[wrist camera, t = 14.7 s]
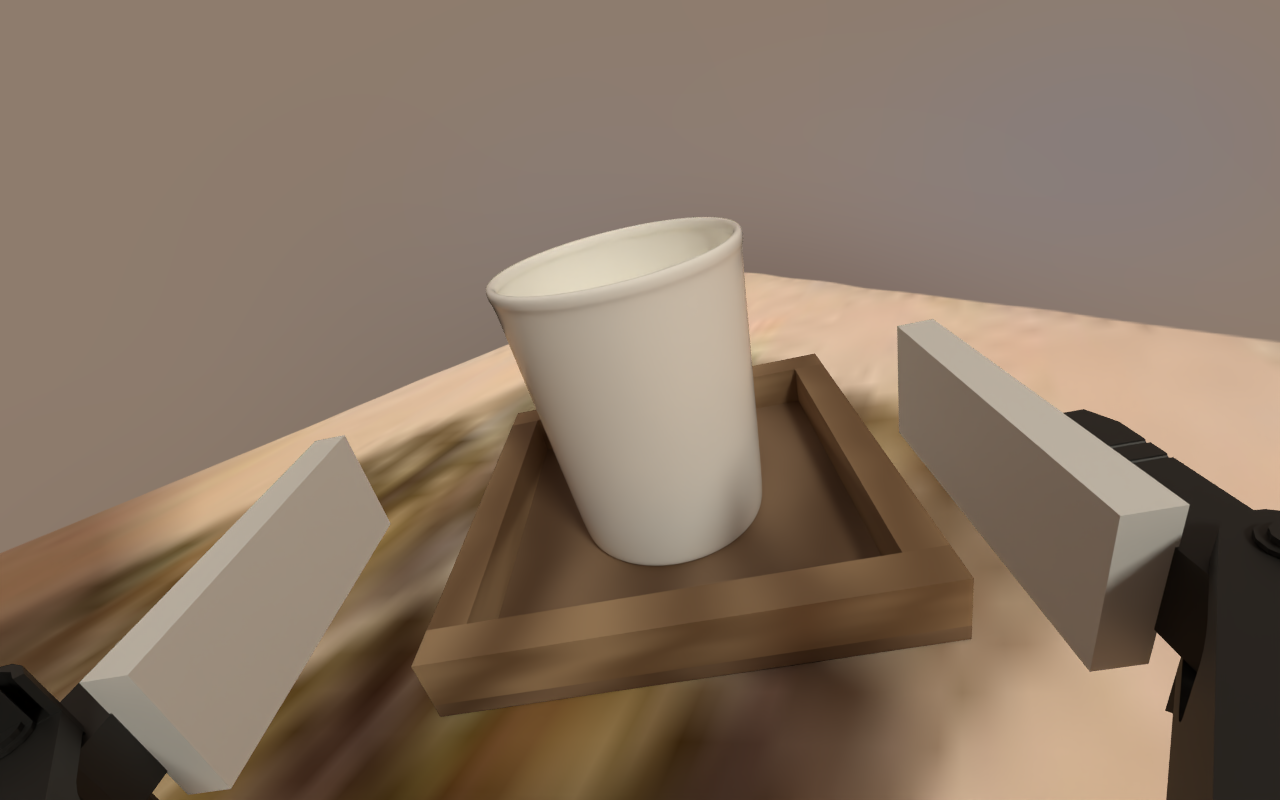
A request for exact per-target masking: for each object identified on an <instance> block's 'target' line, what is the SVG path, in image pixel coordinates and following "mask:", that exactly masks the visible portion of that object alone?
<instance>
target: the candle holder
mask: <svg viewBox="0 0 1280 800" xmlns="http://www.w3.org/2000/svg"><path fill="white" fill-rule="evenodd" d="M742 242H743V232H742V229H741V227H740V225H739V224H738V223H737V222H735V221H733V220H730V219H725V218H717V217H695V218H694V217H693V218H682V219H673V220H664V221H658V222H652V223H646V224H641V225H636V226H631V227H626V228H621V229H617V230H613V231H609V232H605V233H601V234H597V235H593V236H590V237H586V238H583V239H579V240H576V241H573V242H570V243H567V244H564V245H560V246H558V247H555V248H552V249H549V250H547V251H544V252H541V253H539V254H536V255H534V256H531V257H529V258H527V259H524V260H522V261H520V262H518V263H516V264H514V265H512V266H510V267H508V268H507V269H505V270H503V271H502V272H500V273H499V274H498V275H496V276H495V277H494V278H493V279H492V280H491V281H490V282H489V283H488V285H487V287H486V295H487V298H488V300H489V302H490V304H491V305H492V307H493V309H494V311H495V313H496V315H497V317H498V319H499V321H500V324H501V326H502V329H503V331H504V333H505V336H506V338H507V341H508V343H509V345H510V348H511V350H512V353H513V355H514V357H515V360H516V362H517V365H518V367H519V369H520V372H521V374H522V377H523V379H524V382H525V384H526V386H527V389H528V391H529V394H530V396H531V398H532V401H533V403H534V406H535V408H536V410H537V413H538V415H539V418H540V420H541V422H542V425H543V427H544V430H545V432H546V434H547V437H548V439H549V442H550V444H551V446H552V449H553V451H554V454H555V456H556V459H557V461H558V463H559V466H560V468H561V471H562V473H563V475H564V478H565V480H566V482H567V485H568V487H569V490H570V492H571V494H572V497H573V499H574V501H575V504H576V506H577V508H578V511H579V513H580V515H581V518H582V520H583V522H584V524H585V526H586V528H587V531H588V532H589V534H590V536H591V538H592V539H593V541H594V542H595V543H596V544H597V546H598V547H599V548H601V549H602V550H603V551H604V552H606V553H607V554H609V555H610V556H612V557H614V558H616V559H619V560H621V561H625V562H628V563H632V564H638V565H646V566H665V565H674V564H680V563H685V562H689V561H693V560H697V559H700V558H702V557H705V556H708V555H710V554H712V553H714V552H716V551H718V550H720V549H722V548H724V547H726V546H727V545H729V544H730V543H732V542H733V541H734V540H736V539H737V538H738V537H739V536H741V535H742V534H743V533H744V532H745V531H746V530H747V528H748V527H749V526H750V525H751V524H752V522H753V521H754V519H755V517H756V516H757V513H758V511H759V509H760V505H761V501H762V473H761V460H760V447H759V435H758V424H757V412H756V401H755V390H754V379H753V368H752V356H751V345H750V334H749V323H748V312H747V300H746V289H745V278H744V267H743V252H742Z"/></svg>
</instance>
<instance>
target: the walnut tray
mask: <svg viewBox="0 0 1280 800" xmlns="http://www.w3.org/2000/svg"><path fill="white" fill-rule="evenodd" d="M752 368H753V379H754V390H755V401H756V412H757V424H758V435H759V447H760V460H761V473H762V501H761V505H760V509H759V511H758V513H757V516H756V517H755V519H754V521H753V522H752V524H751V525H750V526H749V527H748V528H747V530H746V531H745V532H744V533H743V534H742V535H741V536H739V537H738V538H737V539H736V540H734V541H733V542H732V543H730V544H729V545H727V546H726V547H724V548H722V549H720V550H718V551H716V552H714V553H712V554H710V555H708V556H705V557H702V558H700V559H697V560H693V561H689V562H685V563H680V564H674V565H665V566H646V565H638V564H632V563H628V562H625V561H621V560H619V559H616V558H614V557H612V556H610V555H609V554H607V553H606V552H604V551H603V550H602V549H601V548H599V547H598V546H597V544H596V543H595V542H594V541H593V539H592V538H591V536H590V534H589V532H588V531H587V528H586V526H585V524H584V522H583V520H582V518H581V515H580V513H579V511H578V508H577V506H576V504H575V501H574V499H573V497H572V494H571V492H570V490H569V487H568V485H567V482H566V480H565V478H564V475H563V473H562V471H561V468H560V466H559V463H558V461H557V459H556V456H555V454H554V451H553V449H552V446H551V444H550V442H549V439H548V437H547V434H546V432H545V430H544V427H543V425H542V422H541V420H540V418H539V415H538V413H537V410H533V411H528V412H523V413H518V415H517V417H516V419H515V422H514V424H513V426H512V429H511V431H510V434H509V436H508V438H507V441H506V443H505V445H504V448H503V450H502V453H501V455H500V457H499V460H498V462H497V464H496V467H495V469H494V472H493V474H492V476H491V479H490V481H489V483H488V486H487V488H486V491H485V493H484V495H483V498H482V500H481V502H480V505H479V507H478V510H477V512H476V514H475V517H474V519H473V521H472V524H471V526H470V529H469V531H468V533H467V536H466V538H465V540H464V543H463V545H462V548H461V550H460V552H459V555H458V557H457V559H456V562H455V564H454V567H453V569H452V571H451V574H450V576H449V578H448V581H447V583H446V586H445V588H444V590H443V593H442V595H441V597H440V600H439V602H438V605H437V607H436V609H435V612H434V614H433V616H432V619H431V621H430V624H429V626H428V628H427V631H426V633H425V635H424V638H423V640H422V643H421V645H420V647H419V650H418V652H417V654H416V657H415V659H414V662H413V664H412V666H411V667H412V669H413V670H414V672H415V674H416V676H417V677H418V679H419V681H420V682H421V684H422V686H423V688H424V689H425V691H426V693H427V694H428V696H429V698H430V700H431V701H432V703H433V705H434V707H435V708H436V710H437V712H438V713H439V715H440V717H442V716H449V715H455V714H462V713H469V712H476V711H483V710H489V709H496V708H503V707H510V706H517V705H524V704H530V703H537V702H544V701H551V700H558V699H564V698H571V697H578V696H585V695H592V694H599V693H605V692H612V691H619V690H626V689H633V688H639V687H646V686H653V685H660V684H667V683H674V682H680V681H687V680H694V679H701V678H708V677H714V676H721V675H728V674H735V673H742V672H749V671H755V670H762V669H769V668H776V667H783V666H789V665H796V664H803V663H810V662H817V661H824V660H830V659H837V658H844V657H851V656H858V655H864V654H871V653H878V652H885V651H892V650H899V649H905V648H912V647H919V646H926V645H933V644H939V643H946V642H953V641H960V640H967V639H971V637H972V611H973V585H974V578H973V577H972V575H971V574H970V572H969V571H968V569H967V568H966V567H965V565H964V564H963V562H962V561H961V560H960V558H959V557H958V555H957V554H956V553H955V551H954V550H953V548H952V547H951V545H950V544H949V543H948V541H947V540H946V538H945V537H944V536H943V534H942V533H941V531H940V530H939V528H938V527H937V526H936V524H935V523H934V521H933V520H932V519H931V517H930V516H929V514H928V513H927V511H926V510H925V509H924V507H923V506H922V504H921V503H920V502H919V500H918V499H917V497H916V496H915V495H914V493H913V492H912V490H911V489H910V487H909V486H908V485H907V483H906V482H905V480H904V479H903V478H902V476H901V475H900V473H899V472H898V470H897V469H896V468H895V466H894V465H893V463H892V462H891V461H890V459H889V458H888V456H887V455H886V454H885V452H884V451H883V449H882V448H881V446H880V445H879V444H878V442H877V441H876V439H875V438H874V437H873V435H872V434H871V432H870V431H869V429H868V428H867V427H866V425H865V424H864V422H863V421H862V420H861V418H860V417H859V415H858V414H857V413H856V411H855V410H854V408H853V407H852V405H851V404H850V403H849V401H848V400H847V398H846V397H845V396H844V394H843V393H842V391H841V390H840V388H839V387H838V386H837V384H836V383H835V381H834V380H833V379H832V377H831V376H830V374H829V373H828V372H827V370H826V369H825V367H824V366H823V364H822V363H821V362H820V360H819V359H818V357H817V356H816V355H815V354H810V355H806V356H801V357H796V358H791V359H786V360H781V361H776V362H771V363H766V364H761V365H756V366H752Z"/></svg>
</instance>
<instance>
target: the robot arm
mask: <svg viewBox="0 0 1280 800" xmlns="http://www.w3.org/2000/svg"><path fill="white" fill-rule="evenodd" d="M897 338H898V394H899V433H900V434H901V435H902V436H903V438H904V439H905V440H906V441H907V443H908V444H909V445H910V446H911V448H912V449H913V450H914V451H915V453H916V454H917V455H918V456H919V458H920V459H921V460H922V462H923V463H924V464H925V465H926V467H927V468H928V469H929V470H930V472H931V473H932V474H933V475H934V477H935V478H936V479H937V480H938V482H939V483H940V484H941V485H942V487H943V488H944V489H945V490H946V492H947V493H948V494H949V495H950V497H951V498H952V499H953V500H954V502H955V503H956V504H957V505H958V507H959V508H960V509H961V510H962V512H963V513H964V514H965V515H966V517H967V518H968V519H969V520H970V522H971V523H972V524H973V526H974V527H975V528H976V529H977V531H978V532H979V533H980V534H981V536H982V537H983V538H984V539H985V541H986V542H987V543H988V544H989V546H990V547H991V548H992V549H993V551H994V552H995V553H996V554H997V556H998V557H999V558H1000V559H1001V561H1002V562H1003V563H1004V564H1005V566H1006V567H1007V568H1008V569H1009V571H1010V572H1011V573H1012V574H1013V576H1014V577H1015V578H1016V579H1017V581H1018V582H1019V583H1020V584H1021V586H1022V587H1023V588H1024V590H1025V591H1026V592H1027V593H1028V595H1029V596H1030V597H1031V598H1032V600H1033V601H1034V602H1035V603H1036V605H1037V606H1038V607H1039V608H1040V610H1041V611H1042V612H1043V613H1044V615H1045V616H1046V617H1047V618H1048V620H1049V621H1050V622H1051V623H1052V625H1053V626H1054V627H1055V628H1056V630H1057V631H1058V632H1059V633H1060V635H1061V636H1062V637H1063V638H1064V640H1065V641H1066V642H1067V643H1068V645H1069V646H1070V647H1071V648H1072V650H1073V651H1074V652H1075V654H1076V655H1077V656H1078V657H1079V659H1080V660H1081V661H1082V662H1083V664H1084V665H1085V666H1086V667H1087V669H1088V670H1089V671H1090V672H1091V671H1098V670H1105V669H1113V668H1120V667H1127V666H1135V665H1142V664H1149V660H1150V656H1151V652H1152V648H1153V645H1154V641H1155V637H1156V633H1158V634H1159V635H1160V636H1161V637H1162V638H1163V639H1164V640H1165V641H1166V642H1167V643H1168V644H1169V645H1170V646H1171V647H1172V648H1173V649H1174V650H1175V651H1176V652H1177V653H1178V654H1179V655H1180V656H1181V659H1180V662H1179V666H1178V669H1177V673H1176V676H1175V679H1174V683H1173V686H1172V689H1171V693H1170V696H1169V700H1168V703H1167V706H1166V710H1165V711H1168V712H1171V713H1173V721H1172V734H1171V747H1170V760H1169V773H1168V786H1167V799H1166V800H1280V511H1277V510H1268V509H1262V510H1253V509H1251V508H1250V507H1248V506H1247V505H1245V504H1244V503H1242V502H1240V501H1239V500H1237V499H1236V498H1234V497H1233V496H1231V495H1230V494H1228V493H1227V492H1225V491H1224V490H1222V489H1221V488H1219V487H1218V486H1216V485H1215V484H1213V483H1212V482H1210V481H1208V480H1207V479H1205V478H1204V477H1202V476H1201V475H1199V474H1198V473H1196V472H1195V471H1193V470H1192V469H1190V468H1189V467H1187V466H1186V465H1184V464H1183V463H1181V462H1179V461H1178V460H1176V459H1175V458H1173V457H1172V458H1169V457H1168V456H1167V453H1166V452H1164V451H1163V450H1161V449H1160V448H1158V447H1157V446H1155V445H1154V444H1152V443H1151V442H1150V443H1146V441H1145V439H1144V438H1143V437H1141V436H1140V435H1138V434H1137V433H1135V432H1134V431H1132V430H1131V429H1129V428H1128V427H1126V426H1125V425H1123V424H1122V423H1120V422H1118V421H1115V420H1113V419H1110V418H1107V417H1104V416H1101V415H1098V414H1096V413H1093V412H1090V411H1087V410H1084V409H1083V410H1077V411H1072V412H1066V413H1062V412H1061V411H1059V410H1058V409H1057V408H1055V407H1054V406H1053V405H1051V404H1050V403H1048V402H1047V401H1046V400H1044V399H1043V398H1042V397H1040V396H1039V395H1037V394H1036V393H1035V392H1033V391H1032V390H1030V389H1029V388H1028V387H1026V386H1025V385H1024V384H1022V383H1021V382H1019V381H1018V380H1017V379H1015V378H1014V377H1012V376H1011V375H1010V374H1008V373H1007V372H1006V371H1004V370H1003V369H1001V368H1000V367H999V366H997V365H996V364H994V363H993V362H992V361H990V360H989V359H988V358H986V357H985V356H983V355H982V354H981V353H979V352H978V351H976V350H975V349H974V348H972V347H971V346H970V345H968V344H967V343H965V342H964V341H963V340H961V339H960V338H958V337H957V336H956V335H954V334H953V333H952V332H950V331H949V330H947V329H946V328H945V327H943V326H942V325H940V324H939V323H938V322H936V321H935V320H934V319H931V320H926V321H921V322H916V323H911V324H906V325H900V326H897ZM389 525H390V522H389V520H388V518H387V516H386V514H385V512H384V510H383V508H382V506H381V504H380V503H379V501H378V499H377V497H376V495H375V493H374V491H373V489H372V487H371V485H370V483H369V481H368V479H367V477H366V475H365V474H364V472H363V470H362V468H361V466H360V464H359V462H358V460H357V458H356V456H355V454H354V452H353V450H352V448H351V447H350V445H349V443H348V441H347V439H346V437H345V435H343V436H338V437H333V438H328V439H323V440H318V441H315V442H314V443H313V444H312V445H311V446H310V447H309V448H308V449H307V450H306V451H305V452H304V453H303V454H302V455H301V456H300V457H299V458H298V459H297V460H296V461H295V463H294V464H293V465H292V466H291V467H290V468H289V469H288V470H287V471H286V472H285V473H284V474H283V475H282V476H281V477H280V478H279V479H278V480H277V481H276V482H275V483H274V484H273V485H272V486H271V487H270V488H269V489H268V490H267V491H266V492H265V493H264V494H263V495H262V496H261V497H260V498H259V499H258V500H257V501H256V502H255V503H254V504H253V505H252V507H251V508H250V509H249V510H248V511H247V512H246V513H245V514H244V515H243V516H242V517H241V518H240V519H239V520H238V521H237V522H236V523H235V524H234V525H233V526H232V527H231V528H230V529H229V530H228V531H227V532H226V533H225V534H224V535H223V536H222V537H221V538H220V539H219V540H218V541H217V542H216V543H215V544H214V545H213V546H212V547H211V548H210V550H209V551H208V552H207V553H206V554H205V555H204V556H203V557H202V558H201V559H200V560H199V561H198V562H197V563H196V564H195V565H194V566H193V567H192V568H191V569H190V570H189V571H188V572H187V573H186V574H185V575H184V576H183V577H182V578H181V579H180V580H179V581H178V582H177V583H176V584H175V585H174V586H173V587H172V588H171V589H170V590H169V591H168V592H167V593H166V594H165V595H164V596H163V597H162V598H161V599H160V601H159V602H158V603H157V604H156V605H155V606H154V607H153V608H152V609H151V610H150V611H149V612H148V613H147V614H146V615H145V616H144V617H143V618H142V619H141V620H140V621H139V622H138V623H137V624H136V625H135V626H134V627H133V628H132V629H131V630H130V631H129V632H128V633H127V634H126V635H125V636H124V637H123V638H122V639H121V640H120V641H119V642H118V643H117V645H116V646H115V647H114V648H113V649H112V650H111V651H110V652H109V653H108V654H107V655H106V656H105V657H104V658H103V659H102V660H101V661H100V662H99V663H98V664H97V665H96V666H95V667H94V668H93V669H92V670H91V671H90V672H89V673H88V674H87V675H86V676H85V677H84V678H83V679H82V680H81V681H80V682H79V683H78V684H77V685H76V686H75V687H74V688H73V690H72V691H71V692H70V693H69V694H68V695H67V696H66V697H65V698H64V699H63V700H62V701H61V702H59V701H58V700H57V699H56V698H55V697H54V696H53V695H52V694H51V693H49V692H48V691H47V690H46V689H45V688H44V687H43V686H42V685H41V684H40V683H39V682H38V681H37V680H36V679H35V678H34V677H33V676H32V675H31V674H30V673H29V672H28V671H27V670H26V669H25V668H24V667H23V666H21V665H15V664H10V665H6V666H2V667H0V800H159V799H158V798H157V797H156V796H155V795H154V794H152V792H153V791H154V789H155V788H156V787H157V785H158V784H159V782H160V781H161V780H162V778H163V777H164V775H165V774H166V773H167V774H168V775H169V776H170V777H171V778H172V779H173V780H174V781H175V782H176V783H177V784H178V785H179V786H180V787H181V788H182V789H183V790H184V791H185V792H186V793H187V794H188V795H189V794H196V793H203V792H211V791H218V790H225V789H231V788H232V786H233V784H234V783H235V781H236V779H237V778H238V776H239V774H240V773H241V771H242V769H243V768H244V766H245V764H246V763H247V761H248V760H249V758H250V756H251V755H252V753H253V751H254V750H255V748H256V746H257V745H258V743H259V741H260V740H261V738H262V736H263V735H264V733H265V731H266V730H267V728H268V726H269V725H270V723H271V721H272V720H273V718H274V716H275V715H276V713H277V711H278V710H279V708H280V706H281V705H282V703H283V701H284V700H285V698H286V696H287V695H288V693H289V691H290V690H291V688H292V686H293V685H294V683H295V681H296V680H297V678H298V676H299V675H300V673H301V672H302V670H303V668H304V667H305V665H306V663H307V662H308V660H309V658H310V657H311V655H312V653H313V652H314V650H315V648H316V647H317V645H318V643H319V642H320V640H321V638H322V637H323V635H324V633H325V632H326V630H327V628H328V627H329V625H330V623H331V622H332V620H333V618H334V617H335V615H336V613H337V612H338V610H339V608H340V607H341V605H342V603H343V602H344V600H345V598H346V597H347V595H348V593H349V592H350V590H351V588H352V587H353V585H354V584H355V582H356V580H357V579H358V577H359V575H360V574H361V572H362V570H363V569H364V567H365V565H366V564H367V562H368V560H369V559H370V557H371V555H372V554H373V552H374V550H375V549H376V547H377V545H378V544H379V542H380V540H381V539H382V537H383V535H384V534H385V532H386V530H387V529H388V527H389Z"/></svg>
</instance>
